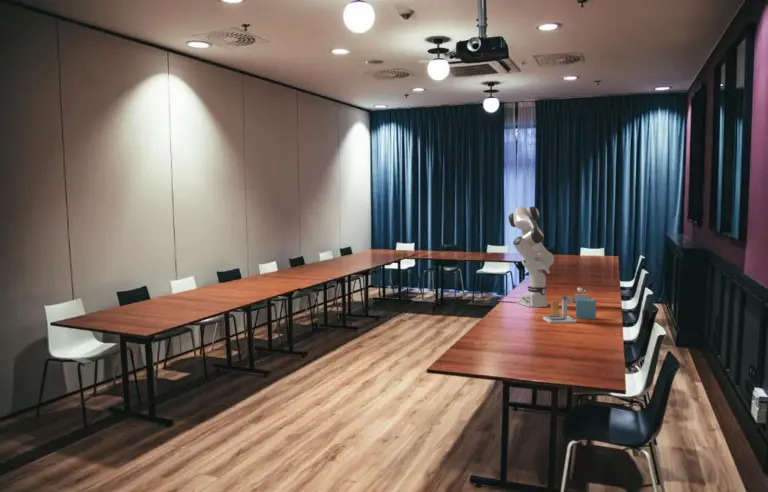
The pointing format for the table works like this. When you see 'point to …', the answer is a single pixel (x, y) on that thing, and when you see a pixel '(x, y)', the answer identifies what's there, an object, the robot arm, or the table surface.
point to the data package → (585, 309)
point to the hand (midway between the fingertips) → (545, 272)
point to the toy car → (580, 295)
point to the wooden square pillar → (554, 307)
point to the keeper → (564, 317)
